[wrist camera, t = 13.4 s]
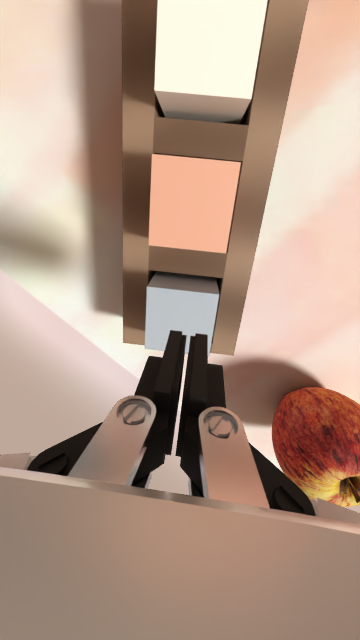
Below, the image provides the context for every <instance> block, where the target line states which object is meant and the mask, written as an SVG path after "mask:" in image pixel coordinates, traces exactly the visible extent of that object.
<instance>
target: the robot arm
mask: <svg viewBox="0 0 360 640" xmlns="http://www.w3.org/2000/svg"><path fill="white" fill-rule="evenodd" d="M186 337H187V335H182V331H175V330H170V333H169V337H168V340H167V344H166V348H165V351H164V355H163V358H161V357H154V356H149V357H148V359H147V362H146V365H145V367H144V370H143V373H142V376H141V378H140V381H139V384H138V386H137V389H136V392H135V395H134V396H128V397H125V398H123V399H121V400H119V401H118V402H117V403H116V404H115V405H114V407H113V408H112V410H111V411H110V413H109V414H108V416H107V417H106V419H105V420H104V422H102V423H100V424H98V425H95V426H93V427H91V428H89V429H87V430H85V431H83V432H81V433H79V434H77V435H75V436H73V437H71V438H69V439H67V440H65V441H63V442H61V443H59V444H57V445H55V446H52V447H50V448H48V449H47V450H45V451H43V452H42V453H40V454H39V455H38V456H31V453H20V454H4V455H0V640H360V513H357V512H354V511H352V510H349V509H347V508H344V507H341V506H339V505H336V504H334V503H331V502H328V501H326V500H323V499H320V498H318V497H317V498H316V499H315V500H312V499H310V498H308V496H307V495H306V494H305V493H304V492H303V491H302V490H301V488H299V487H298V486H297V485H296V484H295V483H294V482H293V481H292V480H290V479H289V478H288V477H287V476H286V475H285V474H284V473H283V472H281V471H280V470H279V469H278V468H277V467H276V466H275V465H274V464H272V463H271V462H270V461H269V460H268V459H267V458H266V457H265V456H263V455H262V454H261V453H260V452H259V451H258V450H257V449H256V448H254V447H253V446H252V445H251V444H250V443H249V442H248V439H247V436H246V433H245V430H244V427H243V424H242V422H241V420H240V418H239V417H238V416H237V415H236V414H235V413H233V412H232V411H230V410H228V409H226V404H225V391H224V379H223V367H222V365H214V364H207V362H208V335H206V334H199V333H196V334H195V336H190V344H189V352H188V360H187V367H186V375H185V383H184V391H183V399H182V407H181V415H180V423H179V432H178V440H177V448H176V456H180V457H181V464H180V466H181V468H182V469H183V470H184V472H185V473H186V474H187V475H188V477H189V481H188V487H189V495H183V494H177V493H170V492H164V491H158V490H152V489H148V486H149V483H150V480H151V477H152V472H153V470H155V469H156V468H158V467H159V466H160V465H162V464H164V460H165V454H166V455H171V451H172V444H173V437H174V429H175V423H176V416H177V409H178V403H179V396H180V389H181V381H182V372H183V363H184V355H185V346H186Z"/></svg>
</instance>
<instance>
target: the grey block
mask: <svg viewBox="0 0 360 640" xmlns="http://www.w3.org/2000/svg"><path fill="white" fill-rule="evenodd" d="M218 299H219V291H218V286H217V281H216V277H208V276H199V275H190V274H181V273H171V272H162V271H157V272H156V273H155V275H154V276H153V278H152V279H151V281H150V283H149V284H148V286H147V299H146V326H145V349H152V350H161V351H165V348H166V344H167V340H168V337H169V333H170V330H175V331H182V335H187V337H186V346H185V353H186V354H188V352H189V344H190V336H195V334H196V333H199V334H206V335H208V356H209V354H210V348H211V342H212V336H213V330H214V324H215V318H216V312H217V305H218Z"/></svg>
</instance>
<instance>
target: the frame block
mask: <svg viewBox="0 0 360 640" xmlns="http://www.w3.org/2000/svg"><path fill="white" fill-rule="evenodd" d="M308 1H309V0H268V1H267V7H266V13H265V19H264V25H263V32H262V38H261V44H260V50H259V56H258V62H257V68H256V74H255V80H254V86H253V92H252V98H251V101H250V103H249V105H248V107H247V109H246V111H245V113H244V115H243V117H242V119H241V121H240V123H239V125H238V124H227V123H217V122H206V121H195V120H184V119H173V118H165V116H164V113H163V111H162V108H161V106H160V103H159V101H158V98H157V96H156V93H155V91H154V86H155V59H156V32H157V6H158V0H122V153H123V343H130V344H138V345H145V326H146V299H147V286H148V284H149V283H150V281H151V279H152V278H153V276H154V275H155V273H156V272H157V271H162V272H171V273H181V274H190V275H199V276H208V277H216V281H217V286H218V291H219V299H218V305H217V312H216V318H215V324H214V330H213V336H212V342H211V348H210V353H216V354H225V355H234V351H235V346H236V341H237V337H238V332H239V327H240V322H241V318H242V313H243V308H244V303H245V299H246V294H247V289H248V285H249V280H250V275H251V270H252V266H253V261H254V256H255V252H256V247H257V242H258V237H259V233H260V228H261V223H262V219H263V214H264V209H265V204H266V200H267V195H268V190H269V185H270V181H271V176H272V171H273V167H274V162H275V157H276V152H277V148H278V143H279V138H280V134H281V129H282V124H283V119H284V115H285V110H286V105H287V100H288V96H289V91H290V86H291V82H292V77H293V72H294V67H295V63H296V58H297V53H298V49H299V44H300V39H301V34H302V30H303V25H304V20H305V15H306V11H307V6H308ZM152 154H158V155H169V156H179V157H190V158H200V159H211V160H221V161H232V162H241V165H240V172H239V178H238V184H237V190H236V196H235V202H234V208H233V214H232V220H231V226H230V232H229V238H228V245H227V251H226V253H217V252H208V251H198V250H189V249H179V248H170V247H160V246H151V245H149V219H150V192H151V166H152Z"/></svg>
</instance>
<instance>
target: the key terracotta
mask: <svg viewBox="0 0 360 640" xmlns="http://www.w3.org/2000/svg"><path fill="white" fill-rule="evenodd" d="M240 165H241V162H232V161H221V160H211V159H200V158H190V157H179V156H169V155H158V154H152V166H151V192H150V219H149V245H151V246H160V247H170V248H179V249H189V250H198V251H208V252H217V253H226V251H227V245H228V238H229V232H230V226H231V220H232V214H233V208H234V202H235V196H236V190H237V184H238V178H239V172H240Z"/></svg>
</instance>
